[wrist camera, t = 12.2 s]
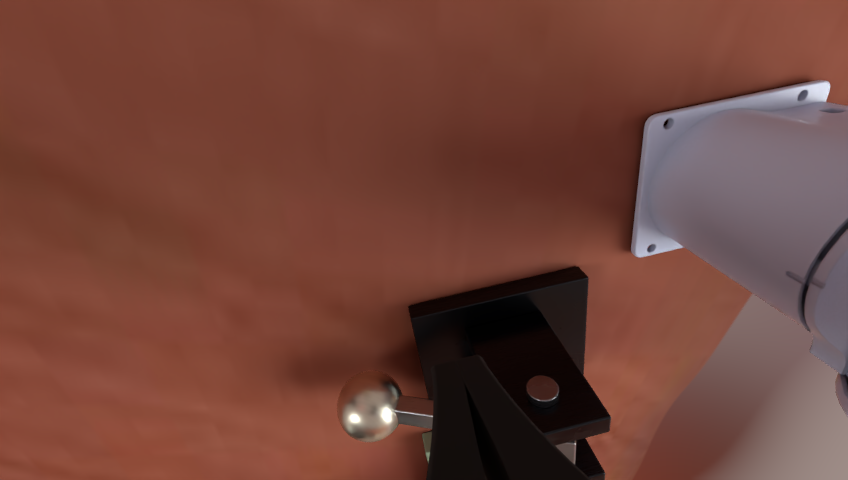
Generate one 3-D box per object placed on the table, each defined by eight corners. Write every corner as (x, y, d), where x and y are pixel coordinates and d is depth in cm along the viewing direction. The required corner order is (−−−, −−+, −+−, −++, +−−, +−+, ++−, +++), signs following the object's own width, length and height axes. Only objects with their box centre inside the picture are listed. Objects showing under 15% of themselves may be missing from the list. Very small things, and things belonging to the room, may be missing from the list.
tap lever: (361, 395, 25) (335, 450, 22) (347, 353, 23) (316, 407, 20) (572, 425, 21) (574, 496, 18) (574, 377, 19) (577, 447, 17)
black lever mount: (429, 400, 27) (459, 542, 19) (407, 305, 23) (436, 438, 15) (574, 364, 27) (656, 488, 20) (578, 265, 23) (681, 375, 16)
